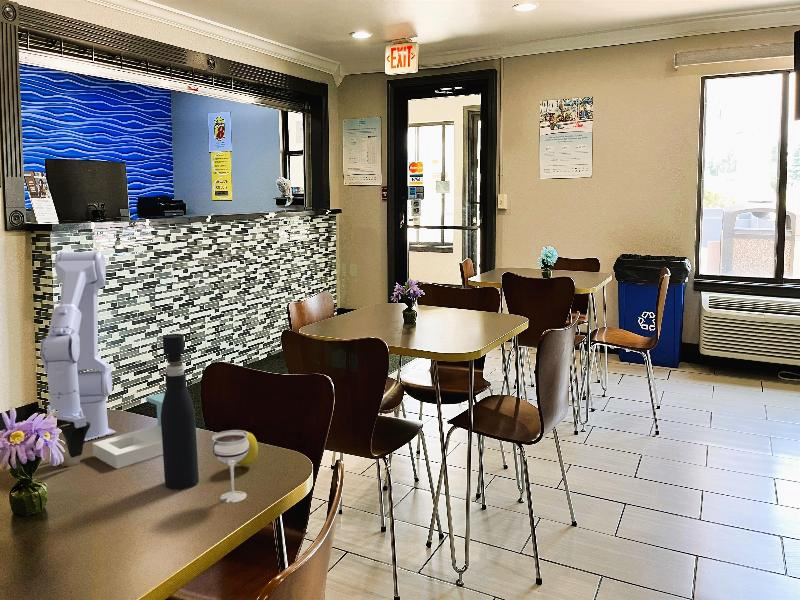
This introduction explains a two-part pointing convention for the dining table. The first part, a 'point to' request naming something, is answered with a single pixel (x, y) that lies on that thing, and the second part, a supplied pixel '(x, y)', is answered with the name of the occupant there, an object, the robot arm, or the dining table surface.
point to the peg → (67, 459)
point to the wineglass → (231, 456)
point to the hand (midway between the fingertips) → (69, 452)
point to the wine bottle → (178, 421)
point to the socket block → (133, 442)
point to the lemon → (250, 451)
